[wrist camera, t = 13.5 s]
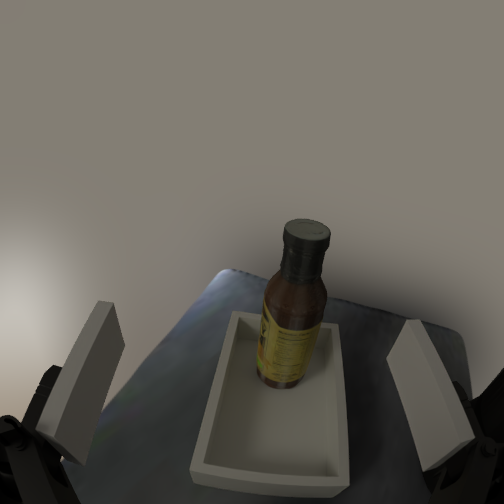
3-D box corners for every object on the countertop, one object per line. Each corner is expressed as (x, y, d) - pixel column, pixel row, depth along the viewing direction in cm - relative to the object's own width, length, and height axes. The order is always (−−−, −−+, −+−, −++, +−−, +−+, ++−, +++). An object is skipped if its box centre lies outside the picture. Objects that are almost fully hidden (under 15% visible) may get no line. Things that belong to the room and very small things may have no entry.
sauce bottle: (266, 348, 39) (287, 205, 29) (310, 363, 37) (350, 222, 27) (245, 381, 34) (261, 229, 24) (294, 400, 32) (338, 251, 22)
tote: (231, 336, 42) (232, 310, 39) (328, 349, 41) (338, 324, 38) (193, 483, 23) (189, 470, 20) (332, 497, 22) (349, 485, 19)
